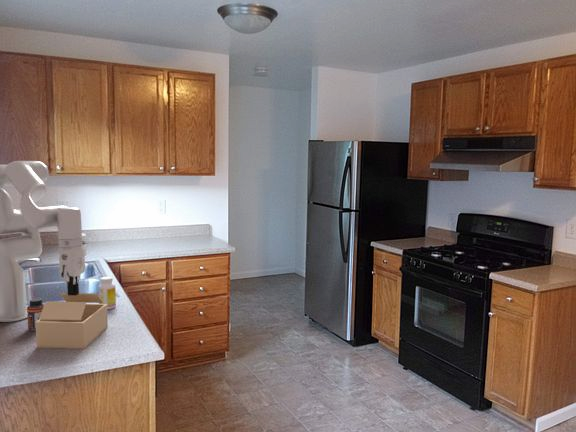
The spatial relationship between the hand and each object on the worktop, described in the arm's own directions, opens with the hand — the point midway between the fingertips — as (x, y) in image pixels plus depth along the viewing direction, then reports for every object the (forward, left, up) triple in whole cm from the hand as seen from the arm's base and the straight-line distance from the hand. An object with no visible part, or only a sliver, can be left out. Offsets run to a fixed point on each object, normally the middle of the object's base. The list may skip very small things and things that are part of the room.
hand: (73, 294), depth 165 cm
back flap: (0, +7, -4) cm, 8 cm away
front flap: (0, -7, -4) cm, 8 cm away
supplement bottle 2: (-1, +33, -16) cm, 37 cm away
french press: (-57, +130, -16) cm, 143 cm away
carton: (0, 0, -16) cm, 16 cm away
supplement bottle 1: (-17, +7, -16) cm, 25 cm away
